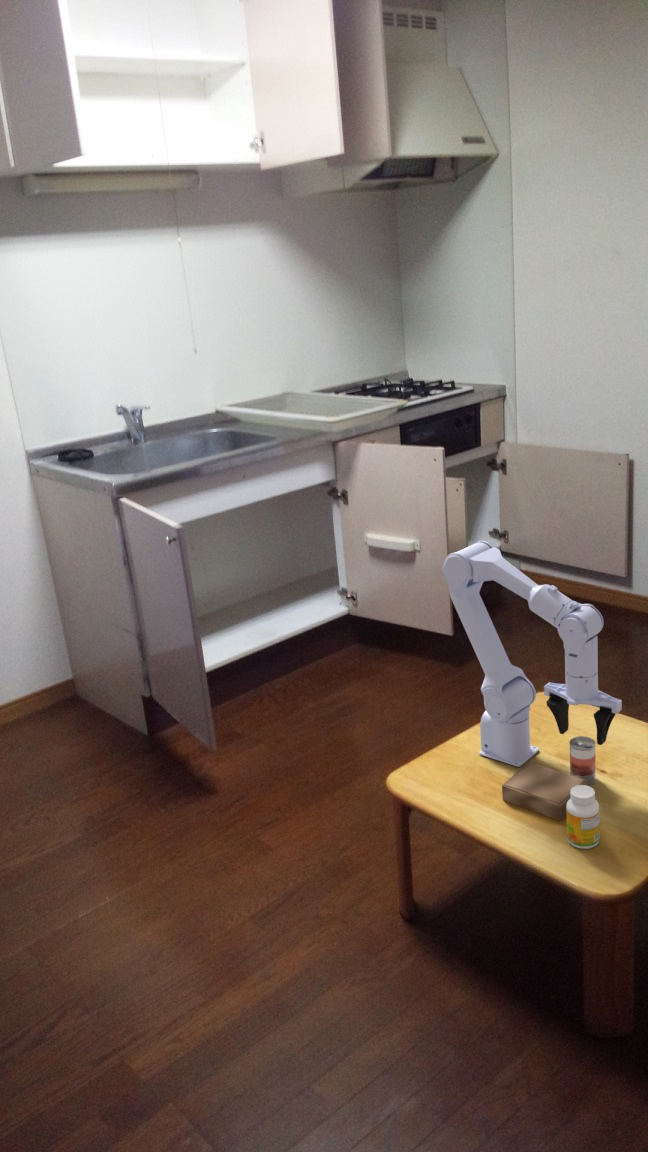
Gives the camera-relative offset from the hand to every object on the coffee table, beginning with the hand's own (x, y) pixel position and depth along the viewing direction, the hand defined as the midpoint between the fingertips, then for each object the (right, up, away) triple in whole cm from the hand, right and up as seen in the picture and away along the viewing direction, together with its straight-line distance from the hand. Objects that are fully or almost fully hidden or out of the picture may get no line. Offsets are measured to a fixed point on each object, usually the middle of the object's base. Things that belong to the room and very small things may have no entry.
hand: (582, 737), depth 168 cm
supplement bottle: (-4, -15, -14) cm, 21 cm away
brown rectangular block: (-7, -11, -1) cm, 13 cm away
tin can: (+1, -9, +3) cm, 9 cm away
